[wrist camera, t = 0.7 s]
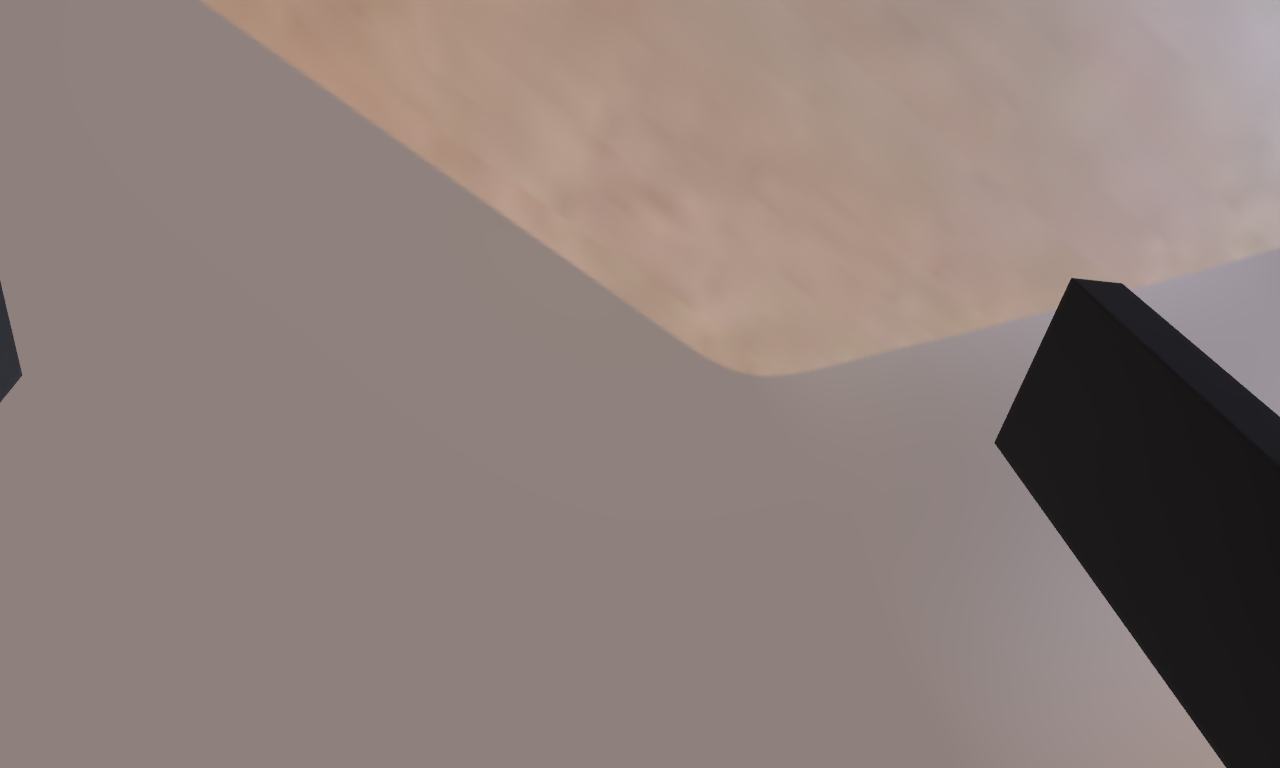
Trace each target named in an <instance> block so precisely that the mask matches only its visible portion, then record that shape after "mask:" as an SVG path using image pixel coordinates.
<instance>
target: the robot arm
mask: <svg viewBox="0 0 1280 768" xmlns="http://www.w3.org/2000/svg"><path fill="white" fill-rule="evenodd" d="M21 376H22V373H21V368H20V364H19V359H18V355H17V351H16V347H15V342H14V338H13V334H12V329H11V325H10V321H9V317H8V313H7V309H6V304H5V300H4V295H3V291H2V287H1V282H0V402H1V401H2V400H3V398H4V397H5V396H6V395H7V393H8V392H9V391H10V389H12V387H13V386H14V385H15V384H16V382H17V381H18V380H19V379H20V377H21ZM995 444H996V446H997V447H998V448H999V450H1000V451H1001V453H1002V454H1003V455H1004V457H1005V458H1006V460H1007V461H1008V462H1009V464H1010V465H1011V467H1012V468H1013V469H1014V471H1015V472H1016V474H1017V475H1018V476H1019V478H1020V479H1021V481H1022V482H1023V483H1024V485H1025V486H1026V488H1027V489H1028V490H1029V492H1030V493H1031V495H1032V496H1033V497H1034V499H1035V500H1036V502H1037V503H1038V504H1039V506H1040V507H1041V509H1042V510H1043V511H1044V513H1045V514H1046V516H1047V517H1048V518H1049V520H1050V521H1051V523H1052V524H1053V525H1054V527H1055V528H1056V530H1057V531H1058V532H1059V534H1060V535H1061V536H1062V538H1063V539H1064V541H1065V542H1066V544H1067V545H1068V546H1069V548H1070V549H1071V551H1072V552H1073V553H1074V555H1075V556H1076V558H1077V559H1078V560H1079V562H1080V563H1081V565H1082V566H1083V567H1084V569H1085V570H1086V572H1087V573H1088V574H1089V576H1090V577H1091V579H1092V580H1093V582H1094V583H1095V584H1096V586H1097V587H1098V588H1099V590H1100V591H1101V593H1102V594H1103V595H1104V597H1105V598H1106V600H1107V601H1108V603H1109V604H1110V605H1111V607H1112V608H1113V609H1114V611H1115V612H1116V614H1117V615H1118V616H1119V618H1120V619H1121V621H1122V622H1123V623H1124V625H1125V626H1126V627H1127V629H1128V631H1129V632H1130V633H1131V635H1132V636H1133V638H1134V639H1135V640H1136V642H1137V643H1138V645H1139V646H1140V647H1141V649H1142V650H1143V651H1144V653H1145V654H1146V656H1147V657H1148V659H1149V660H1150V661H1151V663H1152V664H1153V666H1154V667H1155V668H1156V669H1157V671H1158V673H1159V674H1160V675H1161V677H1162V678H1163V680H1164V681H1165V682H1166V684H1167V685H1168V687H1169V688H1170V689H1171V691H1172V692H1173V693H1174V695H1175V696H1176V698H1177V699H1178V700H1179V702H1180V703H1181V705H1182V706H1183V707H1184V709H1185V710H1186V712H1187V713H1188V715H1189V716H1190V717H1191V719H1192V720H1193V721H1194V723H1195V724H1196V726H1197V727H1198V729H1199V730H1200V731H1201V733H1202V734H1203V736H1204V737H1205V738H1206V740H1207V741H1208V743H1209V744H1210V745H1211V747H1212V748H1213V749H1214V751H1215V752H1216V754H1217V755H1218V757H1219V758H1220V759H1221V761H1222V762H1223V764H1224V765H1225V766H1226V768H1280V417H1279V416H1278V415H1277V414H1276V413H1275V412H1273V411H1272V410H1271V409H1270V408H1269V407H1267V406H1266V405H1265V404H1264V403H1263V402H1261V401H1260V400H1259V399H1258V398H1257V397H1256V396H1254V395H1253V394H1252V393H1251V392H1250V391H1248V390H1247V389H1246V388H1245V387H1244V386H1243V385H1241V384H1240V383H1239V382H1238V381H1237V380H1235V379H1234V378H1233V377H1232V376H1231V375H1230V374H1228V373H1227V372H1226V371H1225V370H1223V369H1222V368H1221V367H1220V366H1219V365H1218V364H1217V363H1215V362H1214V361H1213V360H1212V359H1211V358H1209V357H1208V356H1207V355H1206V354H1205V353H1204V352H1202V351H1201V350H1200V349H1199V348H1198V347H1196V346H1195V345H1194V344H1193V343H1192V342H1191V341H1189V340H1188V339H1187V338H1186V337H1185V336H1183V335H1182V334H1181V333H1180V332H1179V331H1178V330H1176V329H1175V328H1174V327H1173V326H1171V325H1170V324H1169V323H1168V322H1167V321H1166V320H1165V319H1163V318H1162V317H1161V316H1160V315H1159V314H1157V313H1156V312H1155V311H1154V310H1153V309H1152V308H1150V307H1149V306H1148V305H1147V304H1146V303H1144V302H1143V301H1142V300H1141V299H1140V298H1139V297H1137V296H1136V295H1135V294H1134V293H1133V292H1131V291H1130V290H1129V289H1128V288H1127V287H1126V286H1124V285H1123V284H1121V283H1112V282H1103V281H1093V280H1084V279H1075V278H1071V280H1070V282H1069V284H1068V286H1067V289H1066V291H1065V293H1064V295H1063V297H1062V299H1061V301H1060V304H1059V306H1058V308H1057V310H1056V312H1055V314H1054V316H1053V319H1052V321H1051V323H1050V325H1049V327H1048V329H1047V331H1046V334H1045V336H1044V338H1043V340H1042V342H1041V344H1040V347H1039V349H1038V351H1037V353H1036V355H1035V357H1034V359H1033V362H1032V364H1031V366H1030V368H1029V370H1028V372H1027V374H1026V377H1025V379H1024V381H1023V383H1022V385H1021V387H1020V389H1019V391H1018V394H1017V396H1016V398H1015V400H1014V402H1013V404H1012V407H1011V409H1010V411H1009V413H1008V415H1007V417H1006V419H1005V421H1004V423H1003V426H1002V428H1001V430H1000V432H999V434H998V436H997V438H996V441H995Z"/></svg>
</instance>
